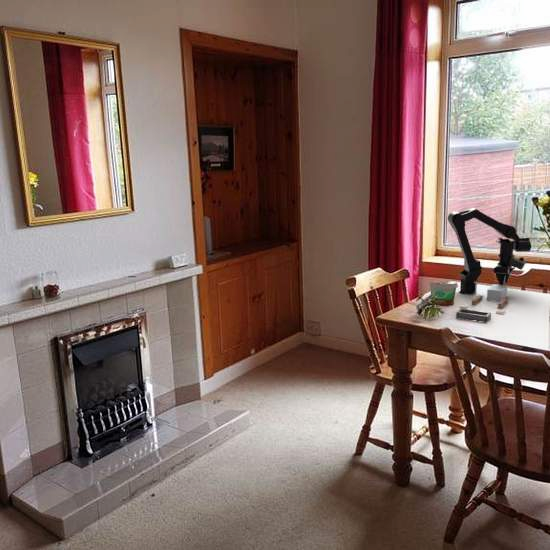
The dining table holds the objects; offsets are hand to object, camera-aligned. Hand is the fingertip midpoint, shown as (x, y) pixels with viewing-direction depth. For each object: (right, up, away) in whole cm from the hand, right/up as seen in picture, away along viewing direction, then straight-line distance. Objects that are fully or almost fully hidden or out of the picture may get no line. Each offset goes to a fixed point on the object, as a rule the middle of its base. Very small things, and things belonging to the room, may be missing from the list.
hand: (503, 284), depth 264 cm
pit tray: (-29, -13, -40) cm, 51 cm away
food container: (-35, -9, -20) cm, 41 cm away
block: (-7, -6, -9) cm, 13 cm away
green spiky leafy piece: (-45, -13, -36) cm, 59 cm away
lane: (-14, -8, -19) cm, 25 cm away
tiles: (-21, -10, -29) cm, 38 cm away
